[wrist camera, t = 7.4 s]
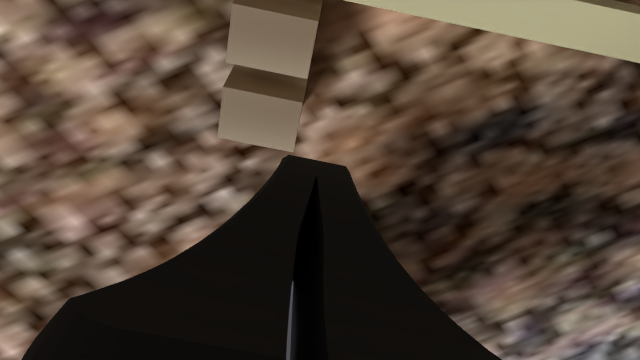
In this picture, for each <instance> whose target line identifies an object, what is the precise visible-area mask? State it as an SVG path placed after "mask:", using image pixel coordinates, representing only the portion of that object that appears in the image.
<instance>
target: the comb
mask: <svg viewBox="0 0 640 360" xmlns="http://www.w3.org/2000/svg"><path fill="white" fill-rule="evenodd" d="M322 3H323V0H234V2H233V3H232V12H231V21H230V30H229V39H228V48H227V57H226V63H231V64H235V65H234V67H233V69H232V71H231V73H230V74H229V76H228V78H227V80H226V82H225V84H224V86H223V93H222V102H221V111H220V120H219V129H218V138H223V139H228V140H233V141H238V142H243V143H248V144H254V145H259V146H264V147H269V148H274V149H279V150H284V151H289V152H293V151H294V146H295V141H296V136H297V131H298V126H299V121H300V116H301V111H302V106H303V101H304V96H305V91H306V85H307V80H308V75H309V70H310V65H311V60H312V54H313V49H314V44H315V39H316V34H317V29H318V23H319V18H320V13H321V8H322Z"/></svg>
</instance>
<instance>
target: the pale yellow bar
mask: <svg viewBox="0 0 640 360" xmlns="http://www.w3.org/2000/svg"><path fill="white" fill-rule="evenodd" d="M345 1H349V2H354V3H359V4H364V5H368V6H373V7H378V8H382V9H387V10H392V11H397V12H401V13H406V14H411V15H415V16H420V17H425V18H430V19H434V20H439V21H444V22H449V23H453V24H458V25H463V26H467V27H472V28H477V29H482V30H486V31H491V32H496V33H500V34H505V35H510V36H515V37H519V38H524V39H529V40H533V41H538V42H543V43H548V44H552V45H557V46H562V47H566V48H571V49H576V50H581V51H585V52H590V53H595V54H599V55H604V56H609V57H614V58H618V59H623V60H628V61H632V62H637V63H640V6H638V5H633V4H629V3H624V2H620V1H615V0H345Z"/></svg>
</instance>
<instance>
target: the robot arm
mask: <svg viewBox="0 0 640 360" xmlns="http://www.w3.org/2000/svg"><path fill="white" fill-rule="evenodd" d="M293 277H294V280H293ZM292 280H293V281H292ZM22 360H502V359H500V358H499V357H497V356H496V355H494V354H493V353H492V352H490V351H489V350H488V349H486V348H485V347H484V346H482V345H481V344H480V343H479V342H478V341H476V340H475V339H474V338H473V337H472V336H470V335H469V334H468V333H467V332H466V331H464V330H463V329H462V328H461V327H460V326H458V325H457V324H456V323H455V322H454V321H453V320H452V319H451V318H450V317H448V316H447V315H446V314H445V313H444V312H443V311H442V310H441V309H440V308H439V307H438V306H437V305H436V304H435V303H434V302H433V301H432V300H431V299H430V298H429V297H428V296H427V295H426V294H425V293H424V292H423V290H422V289H421V288H420V287H419V286H418V285H417V284H416V283H415V282H414V280H413V279H412V278H411V277H410V275H409V274H408V273H407V272H406V271H405V269H404V268H403V267H402V266H401V264H400V263H399V262H398V261H397V259H396V258H395V256H394V255H393V254H392V252H391V251H390V249H389V248H388V246H387V244H386V243H385V241H384V240H383V238H382V237H381V235H380V233H379V232H378V230H377V228H376V227H375V225H374V223H373V221H372V219H371V217H370V216H369V214H368V212H367V210H366V208H365V206H364V204H363V202H362V200H361V198H360V196H359V194H358V192H357V189H356V187H355V185H354V182H353V180H352V177H351V175H350V172H349V170H348V169H347V167H346V166H342V165H337V164H332V163H327V162H322V161H317V160H312V159H307V158H302V157H297V156H292V155H288V156H286V157H284V158H282V161H281V163H280V164H279V166H278V168H277V169H276V171H275V172H274V173H273V175H272V176H271V177H270V178H269V180H268V181H267V182H266V183H265V184H264V186H263V187H262V188H261V189H260V190H259V191H258V192H257V193H256V194H255V195H254V196H253V198H252V199H251V200H250V201H249V202H248V203H247V204H245V205H244V206H243V207H242V208H241V209H240V210H239V211H238V212H237V213H236V214H234V215H233V216H232V217H231V218H230V219H229V220H228V221H227V222H225V223H224V224H223V225H222V226H220V227H219V228H218V229H216V230H215V231H214V232H212V233H211V234H210V235H208V236H207V237H205V238H204V239H203V240H201V241H200V242H198V243H197V244H195V245H193V246H192V247H190V248H189V249H187V250H185V251H184V252H182V253H180V254H179V255H177V256H175V257H174V258H172V259H170V260H168V261H166V262H164V263H163V264H160V265H158V266H156V267H154V268H152V269H150V270H148V271H146V272H143V273H141V274H139V275H136V276H134V277H132V278H129V279H127V280H124V281H121V282H119V283H116V284H113V285H110V286H107V287H104V288H101V289H98V290H95V291H92V292H89V293H86V294H83V295H80V296H76V297H73V298H70V299H69V300H68V301H67V302H66V303H65V304H64V305H63V306H62V307H61V309H60V310H59V311H58V312H57V313H56V314H55V316H54V317H53V318H52V319H51V320H50V321H49V323H48V324H47V325H46V326H45V327H44V329H43V330H42V331H41V332H40V333H39V335H38V336H37V337H36V338H35V340H34V341H33V343H32V344H31V345H30V347H29V348H28V350H27V351H26V353H25V355H24V356H23V358H22Z"/></svg>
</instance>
